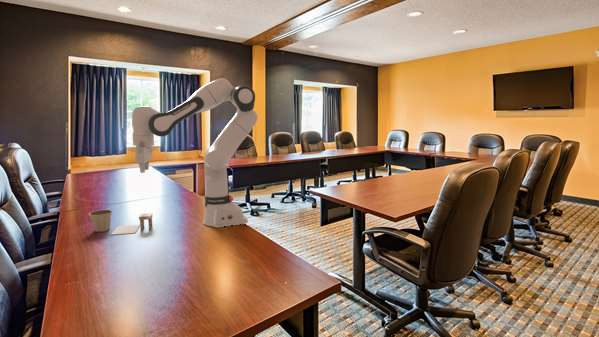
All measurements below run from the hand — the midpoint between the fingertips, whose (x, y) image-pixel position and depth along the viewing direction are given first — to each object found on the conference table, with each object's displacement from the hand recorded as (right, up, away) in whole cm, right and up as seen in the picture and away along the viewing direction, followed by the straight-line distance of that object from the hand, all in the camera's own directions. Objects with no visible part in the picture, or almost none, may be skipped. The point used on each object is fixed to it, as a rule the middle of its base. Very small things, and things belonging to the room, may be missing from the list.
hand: (144, 171), depth 154 cm
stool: (0, -28, +3) cm, 28 cm away
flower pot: (-21, -28, +1) cm, 35 cm away
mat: (-9, -28, +1) cm, 30 cm away
